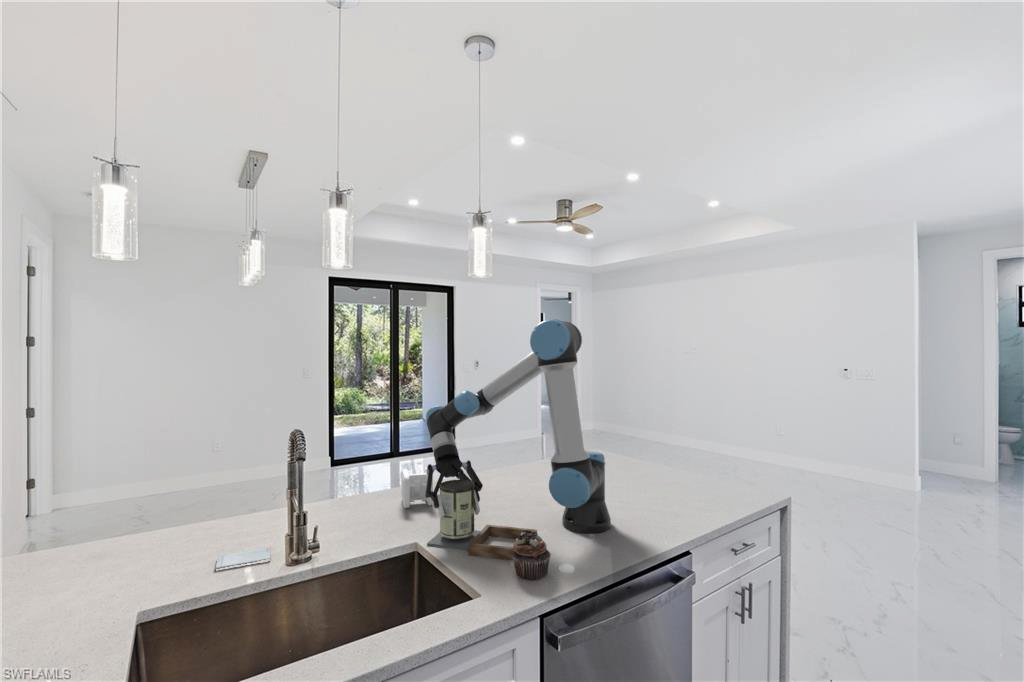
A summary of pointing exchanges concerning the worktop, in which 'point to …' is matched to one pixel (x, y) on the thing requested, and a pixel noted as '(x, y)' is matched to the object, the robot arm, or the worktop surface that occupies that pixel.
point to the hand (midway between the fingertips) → (460, 515)
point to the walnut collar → (494, 551)
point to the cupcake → (530, 556)
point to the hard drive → (242, 558)
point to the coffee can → (457, 509)
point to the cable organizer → (414, 487)
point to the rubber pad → (452, 541)
